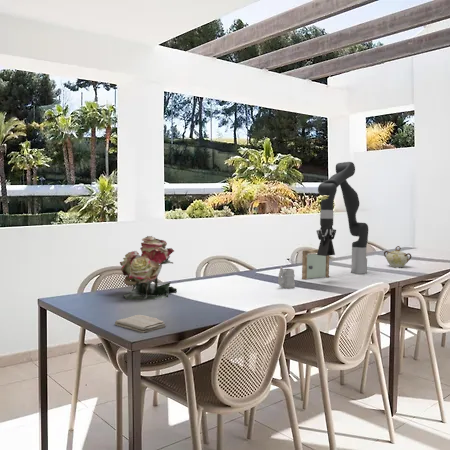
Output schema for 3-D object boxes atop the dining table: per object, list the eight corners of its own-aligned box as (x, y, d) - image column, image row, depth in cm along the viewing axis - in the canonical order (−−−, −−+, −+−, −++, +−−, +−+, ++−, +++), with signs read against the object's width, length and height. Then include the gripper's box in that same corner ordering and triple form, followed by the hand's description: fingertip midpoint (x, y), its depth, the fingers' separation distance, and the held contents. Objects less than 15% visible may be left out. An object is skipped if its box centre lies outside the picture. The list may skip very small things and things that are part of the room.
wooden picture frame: (326, 276, 312) (327, 248, 311) (328, 276, 311) (329, 249, 309) (301, 278, 302) (302, 250, 301) (304, 279, 300) (304, 250, 299)
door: (323, 276, 311) (324, 253, 310) (326, 276, 308) (327, 253, 308) (305, 278, 303) (305, 254, 302) (308, 278, 301) (308, 254, 300)
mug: (297, 287, 275) (298, 265, 274) (283, 289, 267) (284, 267, 266) (287, 285, 281) (287, 264, 280) (273, 287, 273) (273, 266, 272)
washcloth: (144, 334, 183) (144, 326, 182) (113, 326, 194) (113, 318, 193) (167, 327, 192) (167, 320, 192) (136, 320, 203) (136, 312, 203)
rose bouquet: (123, 289, 263) (123, 233, 261) (178, 290, 262) (179, 234, 260) (111, 300, 237) (111, 237, 235) (172, 301, 236) (172, 238, 234)
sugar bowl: (414, 267, 356) (415, 246, 355) (407, 269, 345) (408, 248, 344) (387, 264, 369) (388, 244, 368) (379, 266, 357) (380, 245, 356)
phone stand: (324, 256, 286) (325, 235, 285) (316, 254, 290) (317, 234, 290) (335, 254, 291) (335, 234, 290) (327, 253, 296) (327, 233, 295)
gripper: (331, 217, 296) (330, 245, 297) (313, 217, 289) (312, 247, 290) (340, 217, 290) (339, 247, 291) (322, 218, 282) (321, 248, 284)
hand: (326, 246), depth 290 cm, fingers closed on phone stand, 3 cm apart
